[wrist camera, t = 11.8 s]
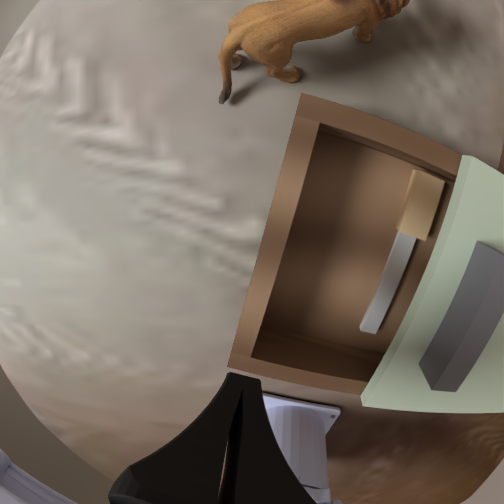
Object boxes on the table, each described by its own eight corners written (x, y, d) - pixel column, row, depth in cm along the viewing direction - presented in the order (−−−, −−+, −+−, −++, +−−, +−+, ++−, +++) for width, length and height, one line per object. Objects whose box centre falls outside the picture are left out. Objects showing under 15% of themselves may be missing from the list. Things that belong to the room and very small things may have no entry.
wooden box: (449, 369, 22) (470, 404, 18) (238, 325, 23) (227, 366, 18) (537, 130, 15) (575, 131, 10) (321, 18, 16) (329, -16, 11)
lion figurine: (354, -29, 14) (381, -101, 5) (407, 20, 15) (462, -36, 6) (197, 80, 18) (137, 36, 9) (250, 135, 19) (221, 120, 10)
